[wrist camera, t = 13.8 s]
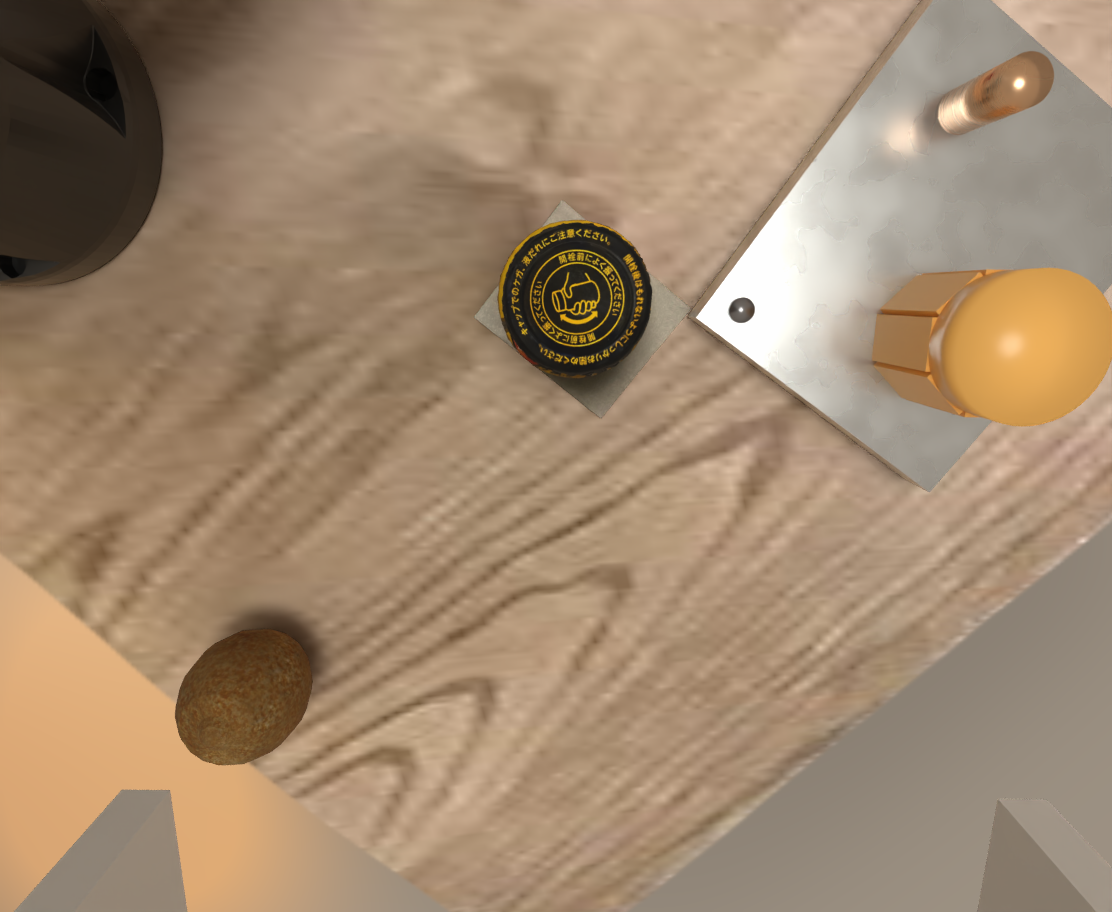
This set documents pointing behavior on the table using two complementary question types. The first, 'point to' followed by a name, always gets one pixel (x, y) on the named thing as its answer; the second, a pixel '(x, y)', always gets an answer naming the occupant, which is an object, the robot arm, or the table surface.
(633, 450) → the table surface
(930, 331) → the wire nut
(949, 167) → the plate
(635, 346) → the condiment
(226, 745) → the fruit
